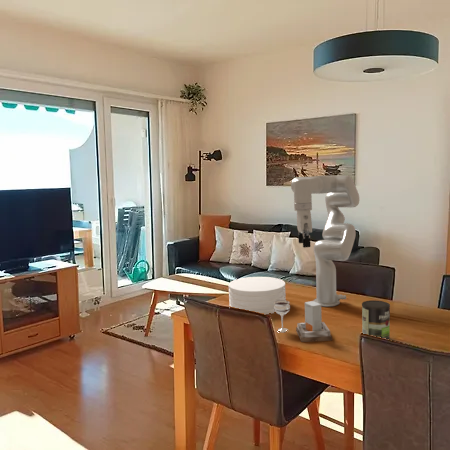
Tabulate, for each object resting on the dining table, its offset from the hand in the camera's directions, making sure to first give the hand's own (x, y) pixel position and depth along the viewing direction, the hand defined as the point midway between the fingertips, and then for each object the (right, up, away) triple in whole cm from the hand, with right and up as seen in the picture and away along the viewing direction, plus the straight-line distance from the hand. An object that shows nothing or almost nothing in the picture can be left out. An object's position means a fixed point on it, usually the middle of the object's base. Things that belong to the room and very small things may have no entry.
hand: (304, 245), depth 198 cm
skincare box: (0, -34, -18) cm, 39 cm away
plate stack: (-19, -32, +24) cm, 44 cm away
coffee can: (+23, -36, -24) cm, 49 cm away
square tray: (0, -36, -18) cm, 40 cm away
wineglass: (-11, -36, -10) cm, 39 cm away
